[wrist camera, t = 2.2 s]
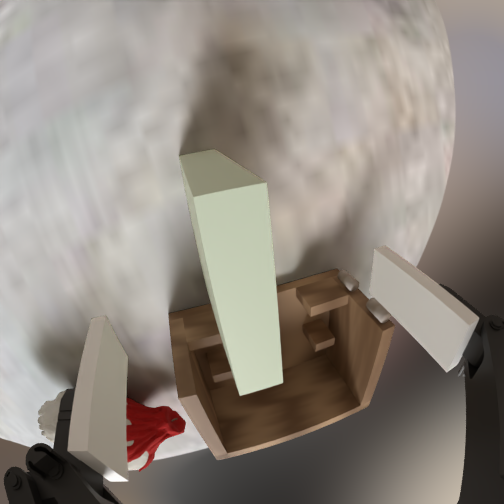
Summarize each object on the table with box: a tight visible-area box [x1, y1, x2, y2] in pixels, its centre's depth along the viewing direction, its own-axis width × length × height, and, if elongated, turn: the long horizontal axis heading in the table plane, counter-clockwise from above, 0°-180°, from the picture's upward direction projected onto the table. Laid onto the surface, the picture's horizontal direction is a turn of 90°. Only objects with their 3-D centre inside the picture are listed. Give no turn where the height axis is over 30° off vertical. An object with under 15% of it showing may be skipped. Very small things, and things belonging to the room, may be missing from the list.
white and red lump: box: [38, 390, 186, 471], centre depth 23 cm, size 9×11×15 cm
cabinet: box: [169, 269, 395, 460], centre depth 24 cm, size 16×13×9 cm
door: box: [179, 149, 283, 396], centre depth 17 cm, size 11×2×11 cm, turn 6°
